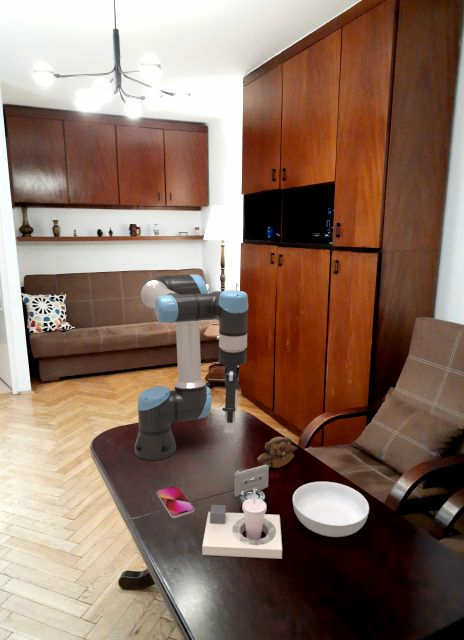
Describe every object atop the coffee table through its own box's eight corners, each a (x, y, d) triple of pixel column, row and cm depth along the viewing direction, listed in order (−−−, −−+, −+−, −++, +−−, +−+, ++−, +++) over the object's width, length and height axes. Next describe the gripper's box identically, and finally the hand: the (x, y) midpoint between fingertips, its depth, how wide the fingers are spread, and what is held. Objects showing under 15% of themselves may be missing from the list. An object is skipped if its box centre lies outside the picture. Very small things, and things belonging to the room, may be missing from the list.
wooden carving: (264, 476, 149) (265, 449, 147) (255, 470, 153) (256, 443, 151) (299, 461, 159) (300, 435, 157) (289, 456, 163) (290, 430, 161)
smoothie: (263, 529, 123) (265, 482, 120) (267, 545, 117) (269, 496, 114) (240, 530, 122) (241, 483, 120) (243, 546, 116) (244, 497, 113)
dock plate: (208, 519, 127) (208, 502, 126) (279, 522, 126) (279, 505, 125) (202, 554, 113) (202, 535, 112) (281, 558, 112) (282, 539, 111)
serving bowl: (369, 509, 132) (370, 488, 131) (365, 557, 113) (367, 532, 112) (299, 495, 139) (300, 475, 138) (284, 538, 120) (285, 515, 118)
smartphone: (177, 484, 143) (196, 509, 130) (177, 487, 144) (196, 512, 130) (155, 490, 140) (172, 516, 127) (155, 493, 140) (172, 520, 127)
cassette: (236, 498, 137) (236, 475, 136) (233, 495, 139) (233, 472, 137) (269, 488, 143) (269, 466, 141) (266, 485, 144) (266, 463, 143)
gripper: (222, 335, 133) (221, 402, 138) (214, 362, 109) (213, 442, 114) (247, 336, 133) (245, 403, 137) (245, 363, 108) (243, 443, 113)
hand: (231, 421), depth 125 cm, fingers open, 13 cm apart
